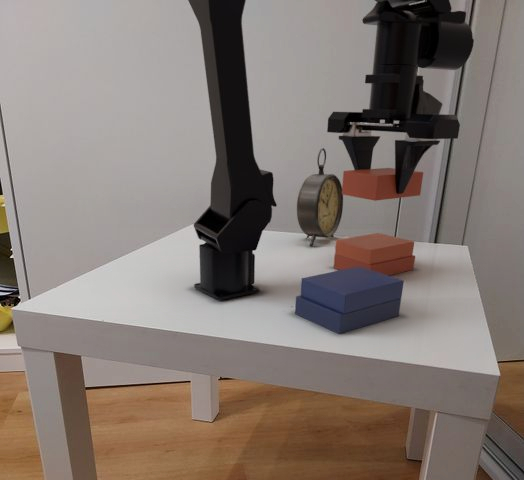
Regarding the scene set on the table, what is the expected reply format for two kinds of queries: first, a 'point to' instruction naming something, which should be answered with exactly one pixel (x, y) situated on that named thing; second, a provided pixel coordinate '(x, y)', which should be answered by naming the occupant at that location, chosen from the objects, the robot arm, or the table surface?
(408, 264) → the rust stack
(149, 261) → the table surface
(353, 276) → the navy stack
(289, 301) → the table surface
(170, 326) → the table surface
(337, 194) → the alarm clock
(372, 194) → the rust book
